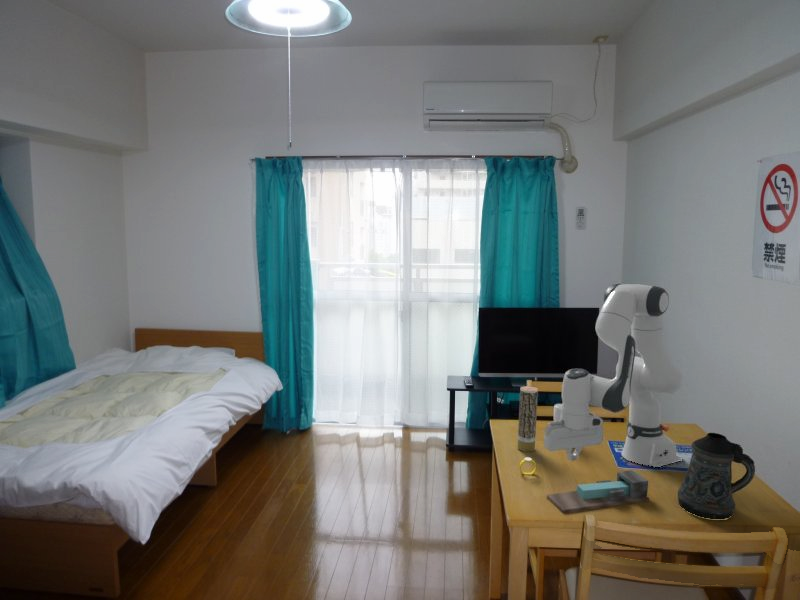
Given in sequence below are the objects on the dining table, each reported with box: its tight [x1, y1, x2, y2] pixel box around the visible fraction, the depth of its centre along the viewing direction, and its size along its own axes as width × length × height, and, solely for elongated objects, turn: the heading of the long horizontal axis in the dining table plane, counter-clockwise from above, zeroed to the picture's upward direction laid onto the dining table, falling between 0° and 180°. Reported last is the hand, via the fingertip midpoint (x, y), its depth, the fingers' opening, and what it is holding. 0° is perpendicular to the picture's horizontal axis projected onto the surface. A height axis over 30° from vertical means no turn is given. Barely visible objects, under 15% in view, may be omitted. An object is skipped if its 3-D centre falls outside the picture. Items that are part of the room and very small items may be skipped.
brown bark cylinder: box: [517, 385, 539, 453], centre depth 224 cm, size 7×7×25 cm
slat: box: [576, 480, 631, 499], centre depth 188 cm, size 20×4×3 cm, turn 102°
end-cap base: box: [546, 469, 650, 514], centre depth 186 cm, size 32×10×6 cm, turn 105°
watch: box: [518, 456, 538, 476], centre depth 203 cm, size 6×3×6 cm, turn 89°
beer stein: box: [677, 432, 756, 519], centre depth 180 cm, size 16×19×25 cm
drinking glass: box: [553, 403, 562, 422], centre depth 233 cm, size 7×7×15 cm
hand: (572, 459), depth 184 cm, fingers closed
